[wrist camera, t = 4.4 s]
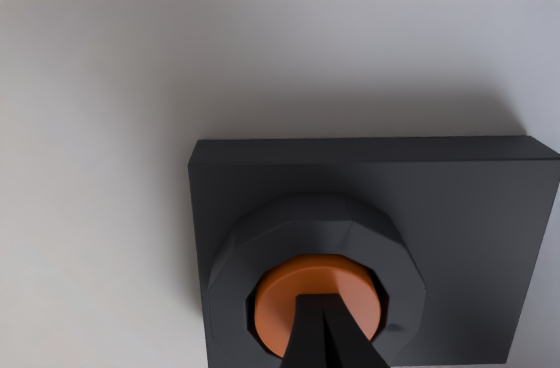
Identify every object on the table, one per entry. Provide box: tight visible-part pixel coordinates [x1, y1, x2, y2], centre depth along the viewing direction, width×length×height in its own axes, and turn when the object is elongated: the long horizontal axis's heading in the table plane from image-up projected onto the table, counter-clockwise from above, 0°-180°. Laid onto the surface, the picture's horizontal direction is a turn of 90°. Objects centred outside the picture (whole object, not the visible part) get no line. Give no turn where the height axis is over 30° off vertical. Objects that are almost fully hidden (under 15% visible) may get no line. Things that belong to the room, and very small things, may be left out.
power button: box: [254, 254, 381, 357], centre depth 15 cm, size 4×4×2 cm
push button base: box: [188, 136, 560, 368], centre depth 16 cm, size 12×9×4 cm
